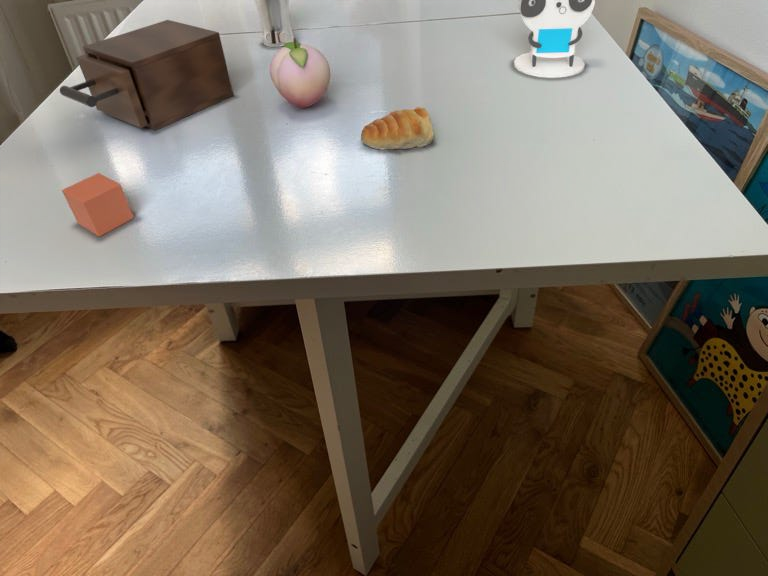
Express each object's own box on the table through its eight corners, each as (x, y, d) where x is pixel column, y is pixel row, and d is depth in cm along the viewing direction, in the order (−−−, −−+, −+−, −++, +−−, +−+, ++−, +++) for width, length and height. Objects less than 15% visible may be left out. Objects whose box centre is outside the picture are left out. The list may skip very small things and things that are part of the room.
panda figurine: (512, 77, 89) (523, -28, 79) (508, 53, 97) (518, -45, 87) (589, 77, 87) (611, -30, 77) (578, 52, 96) (597, -47, 86)
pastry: (369, 158, 71) (368, 130, 68) (355, 136, 75) (353, 109, 73) (438, 144, 73) (438, 117, 70) (419, 124, 77) (419, 97, 75)
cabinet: (155, 130, 79) (132, 62, 73) (107, 110, 85) (82, 46, 79) (233, 95, 88) (219, 32, 81) (184, 80, 94) (167, 19, 87)
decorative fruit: (344, 111, 82) (337, 41, 75) (292, 125, 79) (281, 53, 72) (318, 91, 88) (310, 24, 81) (269, 103, 85) (257, 34, 78)
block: (99, 237, 60) (82, 202, 57) (77, 223, 62) (61, 189, 59) (134, 218, 63) (120, 184, 60) (112, 205, 65) (98, 172, 62)
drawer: (109, 141, 75) (86, 85, 70) (66, 122, 81) (42, 68, 76) (215, 95, 86) (202, 43, 81) (171, 80, 91) (156, 31, 86)
